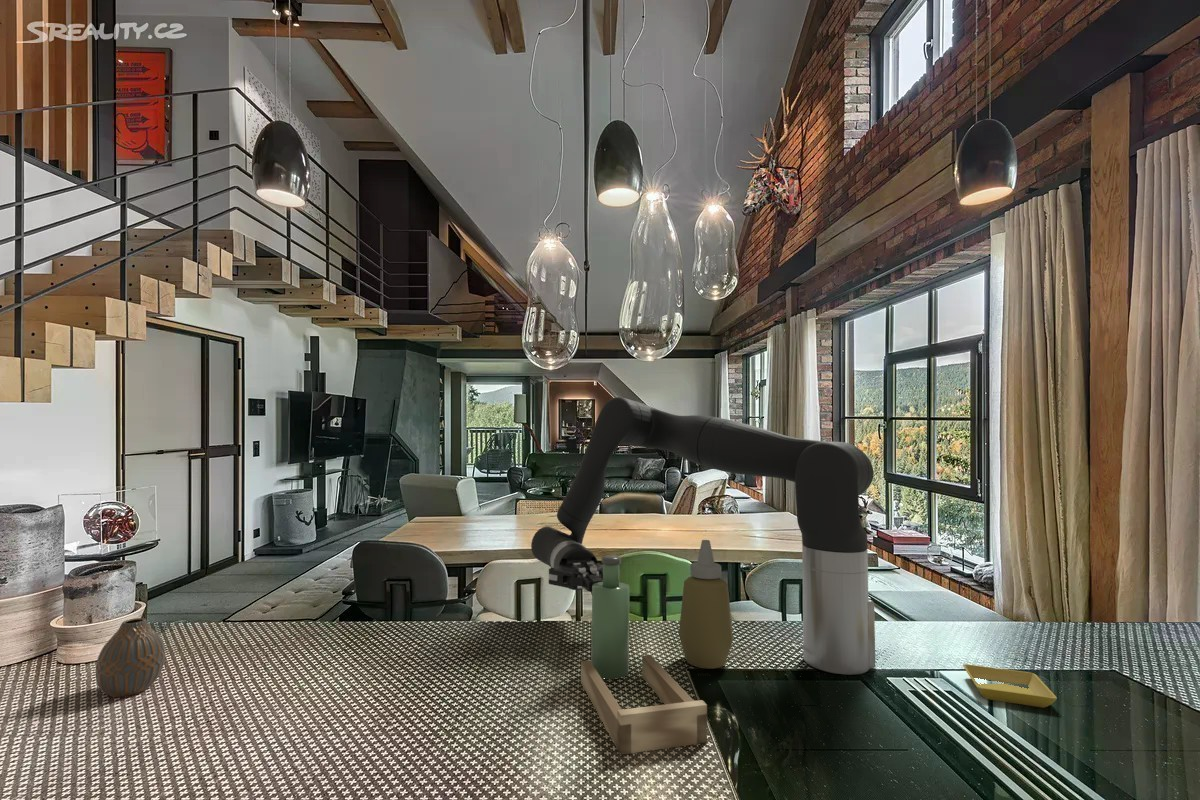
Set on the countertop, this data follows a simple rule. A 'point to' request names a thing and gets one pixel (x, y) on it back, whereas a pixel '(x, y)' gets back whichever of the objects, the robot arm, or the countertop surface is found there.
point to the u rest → (648, 712)
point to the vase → (130, 659)
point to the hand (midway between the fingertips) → (597, 587)
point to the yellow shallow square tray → (1011, 686)
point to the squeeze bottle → (705, 613)
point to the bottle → (610, 622)
